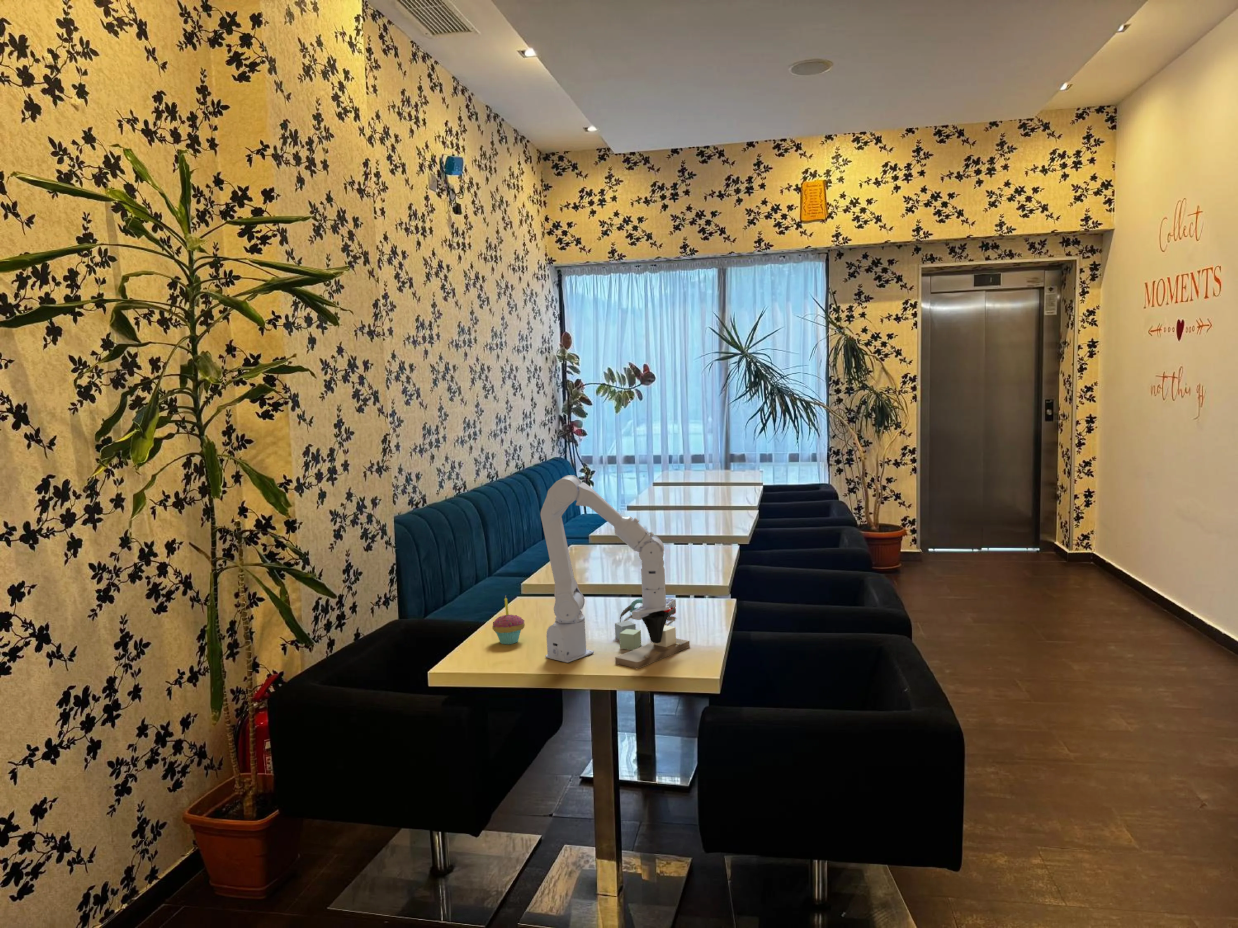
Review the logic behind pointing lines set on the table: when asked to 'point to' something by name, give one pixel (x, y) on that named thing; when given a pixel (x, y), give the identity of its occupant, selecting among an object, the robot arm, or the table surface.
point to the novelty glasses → (632, 606)
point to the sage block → (630, 639)
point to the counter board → (650, 654)
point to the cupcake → (508, 627)
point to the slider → (667, 637)
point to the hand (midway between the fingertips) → (655, 641)
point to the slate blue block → (623, 627)
